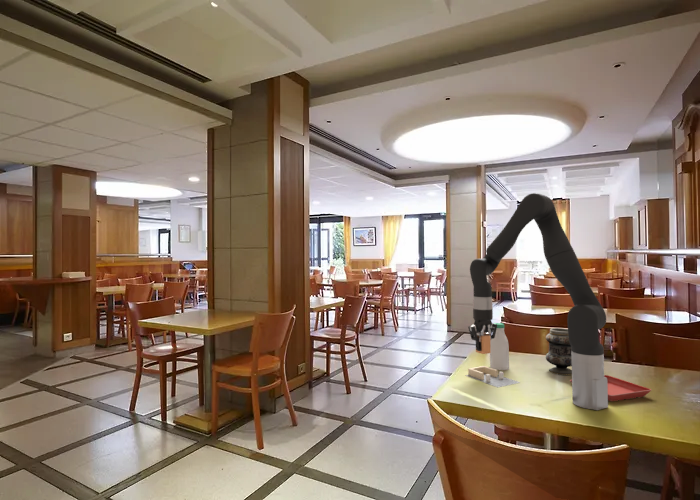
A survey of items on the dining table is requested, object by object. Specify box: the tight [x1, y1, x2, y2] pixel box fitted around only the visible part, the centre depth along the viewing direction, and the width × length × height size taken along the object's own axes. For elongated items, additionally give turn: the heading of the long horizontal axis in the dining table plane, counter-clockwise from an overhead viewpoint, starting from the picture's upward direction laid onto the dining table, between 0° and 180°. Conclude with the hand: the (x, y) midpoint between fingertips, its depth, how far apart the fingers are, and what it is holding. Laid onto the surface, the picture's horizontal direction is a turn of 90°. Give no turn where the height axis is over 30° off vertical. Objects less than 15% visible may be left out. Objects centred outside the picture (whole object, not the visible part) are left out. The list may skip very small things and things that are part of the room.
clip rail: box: [464, 365, 521, 388], centre depth 156 cm, size 17×12×4 cm
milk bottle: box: [489, 322, 510, 371], centre depth 172 cm, size 8×8×20 cm
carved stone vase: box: [545, 327, 572, 376], centre depth 168 cm, size 12×12×18 cm
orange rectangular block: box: [475, 334, 491, 355], centre depth 161 cm, size 4×4×7 cm
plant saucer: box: [569, 374, 652, 402], centre depth 142 cm, size 18×18×3 cm
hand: (483, 349), depth 160 cm, fingers closed on orange rectangular block, 4 cm apart
